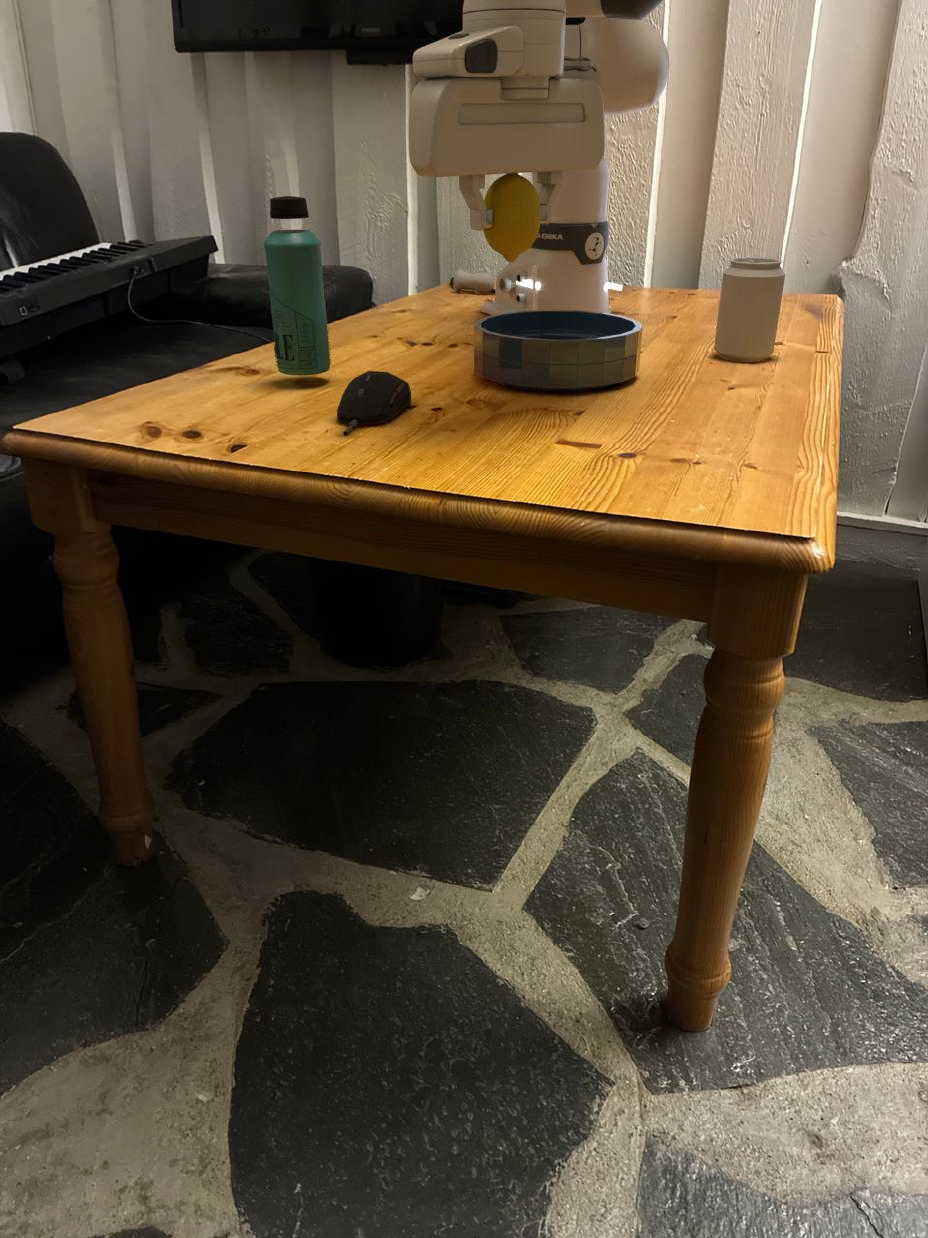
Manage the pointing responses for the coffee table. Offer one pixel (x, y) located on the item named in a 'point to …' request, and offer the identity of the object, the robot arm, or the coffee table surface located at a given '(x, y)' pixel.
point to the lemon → (513, 215)
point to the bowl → (557, 349)
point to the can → (749, 309)
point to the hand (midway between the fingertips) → (510, 226)
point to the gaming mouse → (373, 399)
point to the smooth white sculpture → (473, 281)
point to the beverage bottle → (296, 293)
